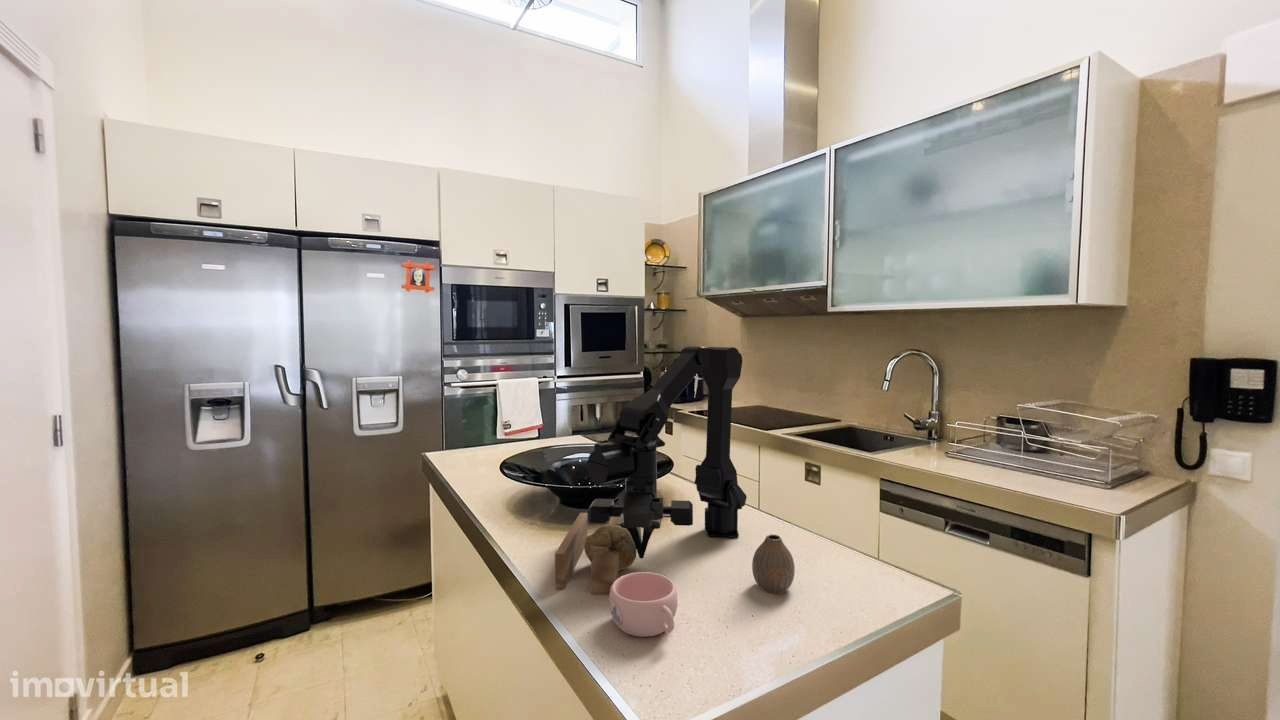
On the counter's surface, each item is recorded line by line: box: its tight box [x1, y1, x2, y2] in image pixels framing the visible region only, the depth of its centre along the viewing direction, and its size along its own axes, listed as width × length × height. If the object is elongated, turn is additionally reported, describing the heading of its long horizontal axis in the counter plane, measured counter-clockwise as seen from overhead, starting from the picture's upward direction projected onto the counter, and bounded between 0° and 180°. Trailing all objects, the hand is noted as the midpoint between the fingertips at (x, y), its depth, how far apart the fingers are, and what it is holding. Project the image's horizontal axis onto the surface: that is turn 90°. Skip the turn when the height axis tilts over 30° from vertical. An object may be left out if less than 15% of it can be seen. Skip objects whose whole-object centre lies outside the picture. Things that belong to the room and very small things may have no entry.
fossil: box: [584, 524, 638, 571], centre depth 96 cm, size 9×4×10 cm
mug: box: [608, 571, 679, 638], centre depth 75 cm, size 12×10×6 cm
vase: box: [751, 534, 796, 595], centre depth 87 cm, size 7×7×9 cm
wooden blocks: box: [554, 512, 621, 596], centre depth 96 cm, size 10×22×6 cm, turn 174°
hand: (641, 557), depth 96 cm, fingers closed
